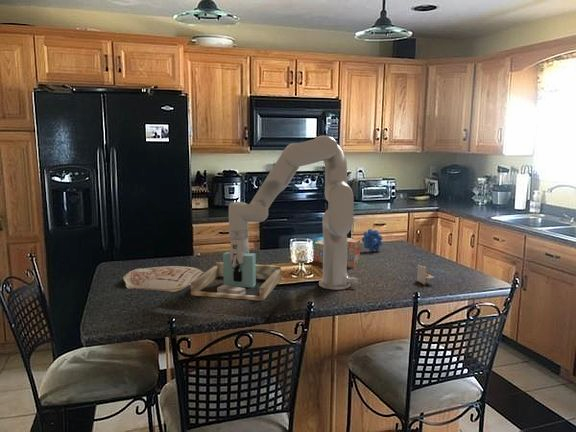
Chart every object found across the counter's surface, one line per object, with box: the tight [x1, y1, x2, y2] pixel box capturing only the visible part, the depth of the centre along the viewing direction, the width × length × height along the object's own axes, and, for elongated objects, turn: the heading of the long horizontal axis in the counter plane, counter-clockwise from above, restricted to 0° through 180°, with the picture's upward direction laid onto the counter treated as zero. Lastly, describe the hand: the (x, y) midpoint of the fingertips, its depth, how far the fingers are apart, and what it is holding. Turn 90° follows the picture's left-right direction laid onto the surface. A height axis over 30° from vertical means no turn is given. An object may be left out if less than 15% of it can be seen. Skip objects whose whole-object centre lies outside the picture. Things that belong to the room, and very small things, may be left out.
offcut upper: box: [216, 284, 247, 295], centre depth 183 cm, size 10×4×2 cm, turn 64°
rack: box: [190, 261, 282, 302], centre depth 190 cm, size 28×27×7 cm
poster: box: [122, 265, 205, 293], centre depth 204 cm, size 28×6×30 cm
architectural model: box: [416, 264, 435, 285], centre depth 199 cm, size 3×7×7 cm, turn 18°
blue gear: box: [361, 228, 384, 252], centre depth 250 cm, size 12×7×12 cm, turn 104°
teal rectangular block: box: [222, 251, 257, 288], centre depth 192 cm, size 12×4×14 cm, turn 77°
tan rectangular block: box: [313, 237, 361, 269], centre depth 229 cm, size 21×6×12 cm, turn 58°
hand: (239, 278), depth 192 cm, fingers closed on teal rectangular block, 4 cm apart
